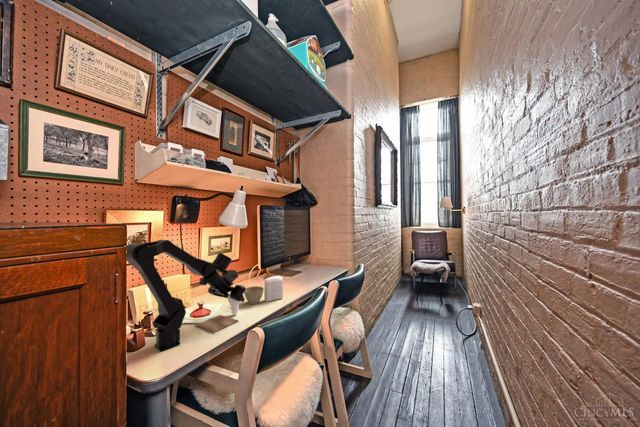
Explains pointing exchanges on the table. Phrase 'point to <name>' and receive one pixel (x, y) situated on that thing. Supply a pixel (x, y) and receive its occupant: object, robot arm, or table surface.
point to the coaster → (216, 323)
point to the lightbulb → (233, 305)
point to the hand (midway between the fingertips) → (236, 299)
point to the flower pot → (253, 294)
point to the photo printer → (273, 288)
